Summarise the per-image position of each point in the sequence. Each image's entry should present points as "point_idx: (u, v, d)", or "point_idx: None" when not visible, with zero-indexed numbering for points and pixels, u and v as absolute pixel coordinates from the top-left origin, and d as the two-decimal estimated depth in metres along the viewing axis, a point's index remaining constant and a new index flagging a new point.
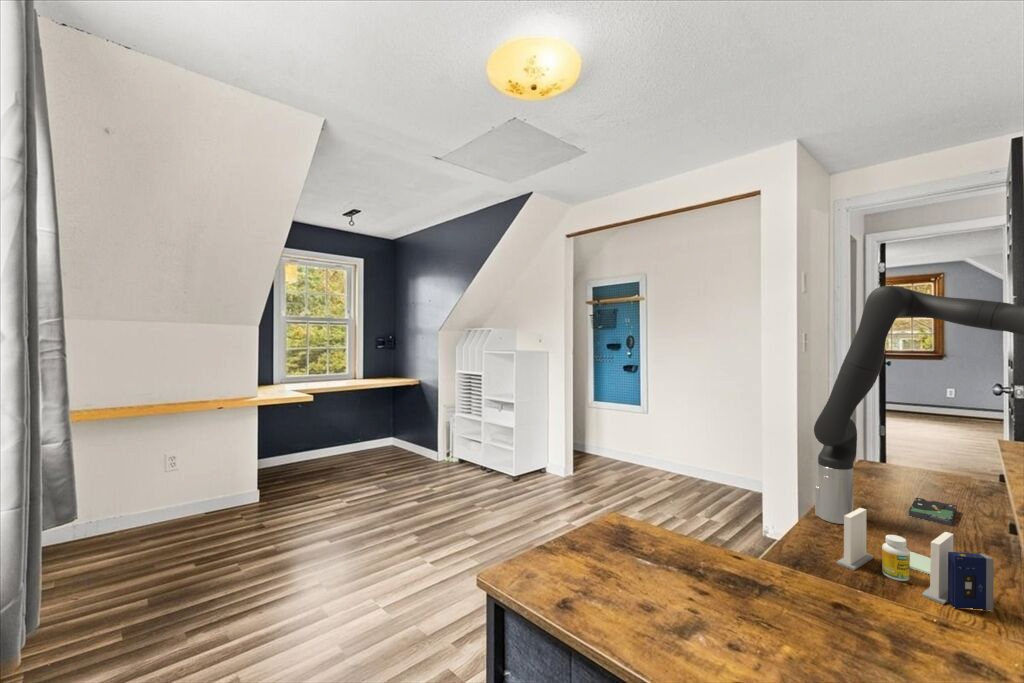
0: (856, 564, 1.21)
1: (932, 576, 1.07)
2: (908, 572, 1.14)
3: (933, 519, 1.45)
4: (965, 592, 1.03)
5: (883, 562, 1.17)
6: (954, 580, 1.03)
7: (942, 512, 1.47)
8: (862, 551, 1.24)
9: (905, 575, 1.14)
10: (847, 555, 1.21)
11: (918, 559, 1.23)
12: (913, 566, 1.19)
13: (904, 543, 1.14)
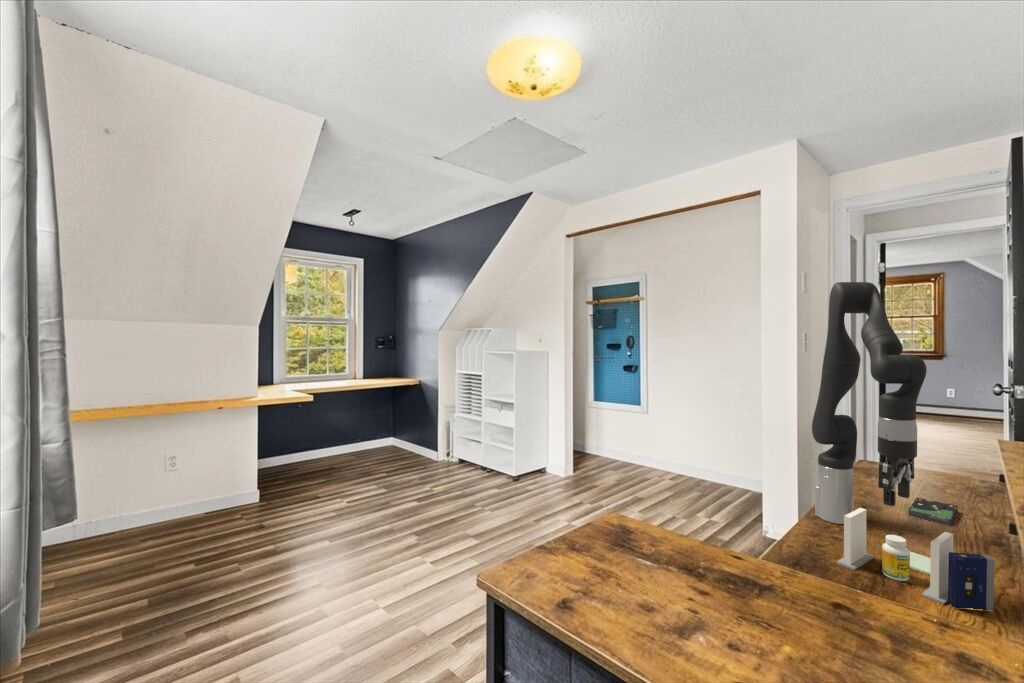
0: (856, 564, 1.21)
1: (932, 576, 1.07)
2: (908, 572, 1.14)
3: (933, 519, 1.45)
4: (965, 592, 1.03)
5: (883, 562, 1.17)
6: (954, 580, 1.03)
7: (942, 512, 1.47)
8: (862, 551, 1.24)
9: (905, 575, 1.14)
10: (847, 555, 1.21)
11: (918, 559, 1.23)
12: (913, 566, 1.19)
13: (904, 543, 1.14)
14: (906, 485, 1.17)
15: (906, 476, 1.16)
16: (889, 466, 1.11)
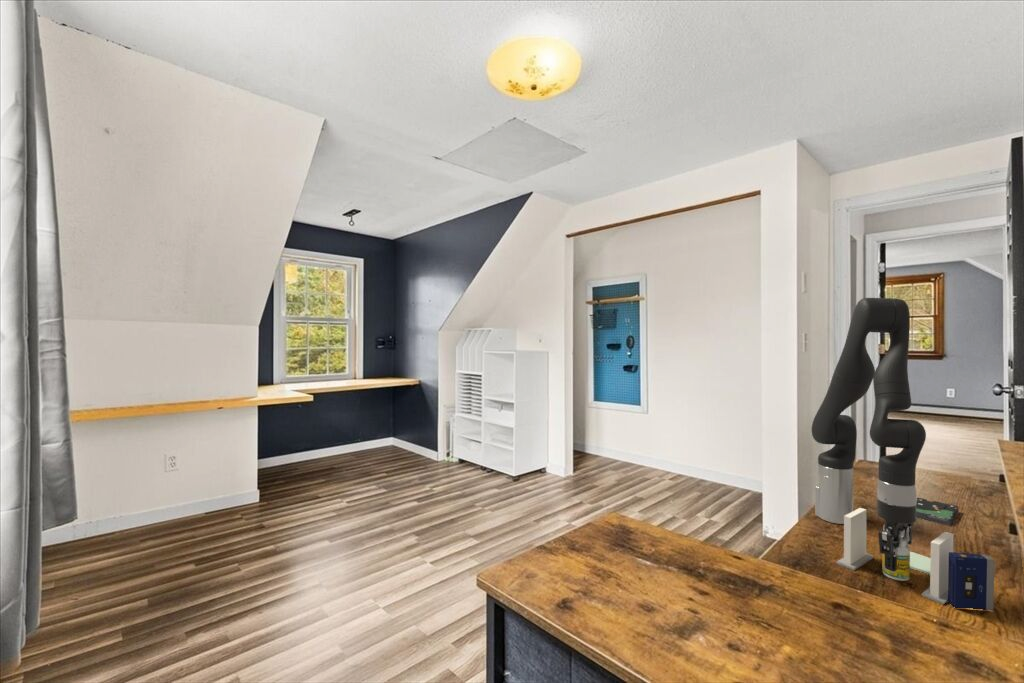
0: (856, 564, 1.21)
1: (932, 576, 1.07)
2: (908, 572, 1.14)
3: (932, 519, 1.45)
4: (965, 592, 1.03)
5: (883, 562, 1.17)
6: (954, 580, 1.03)
7: (941, 512, 1.47)
8: (862, 551, 1.24)
9: (905, 575, 1.14)
10: (847, 555, 1.21)
11: (918, 559, 1.23)
12: (913, 566, 1.19)
13: (904, 543, 1.14)
14: None
15: None
16: (888, 535, 1.12)
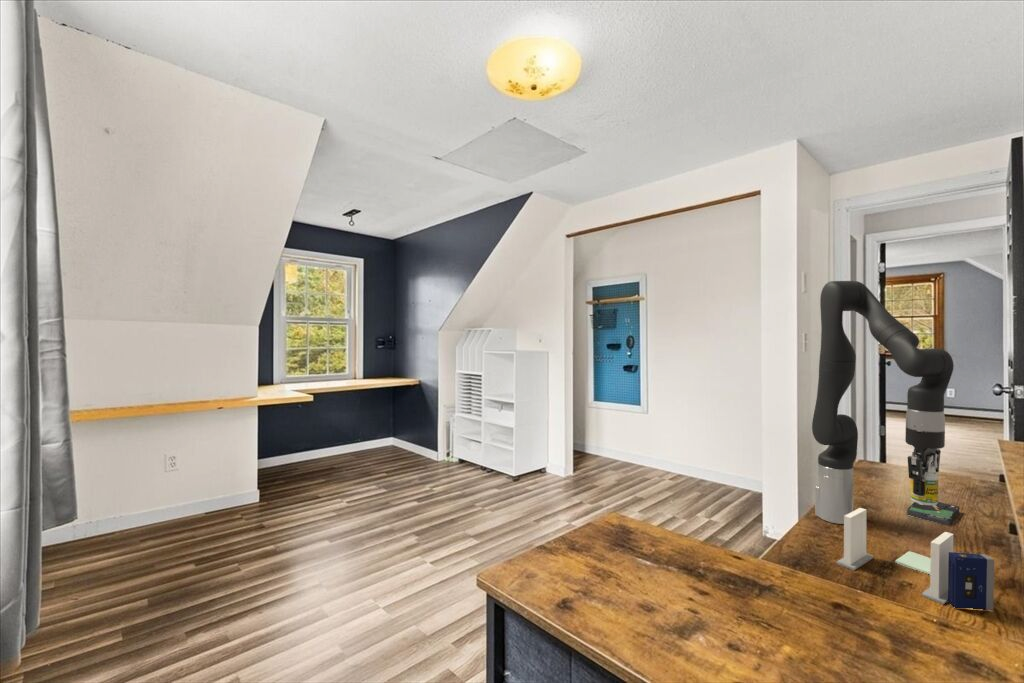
0: (856, 564, 1.21)
1: (932, 576, 1.07)
2: (937, 497, 1.18)
3: (931, 518, 1.45)
4: (965, 592, 1.03)
5: (912, 489, 1.21)
6: (954, 580, 1.03)
7: (941, 512, 1.47)
8: (862, 551, 1.24)
9: (934, 499, 1.17)
10: (847, 555, 1.21)
11: (918, 559, 1.23)
12: (913, 566, 1.19)
13: (933, 469, 1.18)
14: None
15: None
16: (918, 459, 1.15)
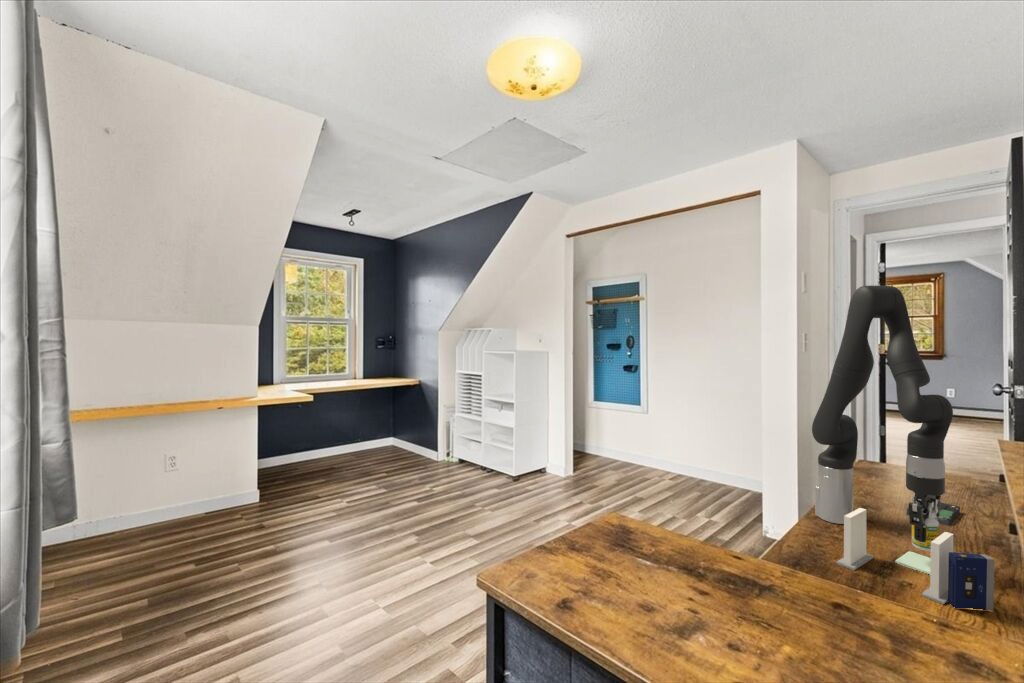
0: (856, 564, 1.21)
1: (932, 576, 1.07)
2: None
3: None
4: (965, 592, 1.03)
5: (913, 534, 1.21)
6: (954, 580, 1.03)
7: (941, 512, 1.47)
8: (862, 551, 1.24)
9: None
10: (847, 555, 1.21)
11: (918, 559, 1.23)
12: (913, 566, 1.19)
13: (934, 515, 1.18)
14: None
15: None
16: (918, 506, 1.16)
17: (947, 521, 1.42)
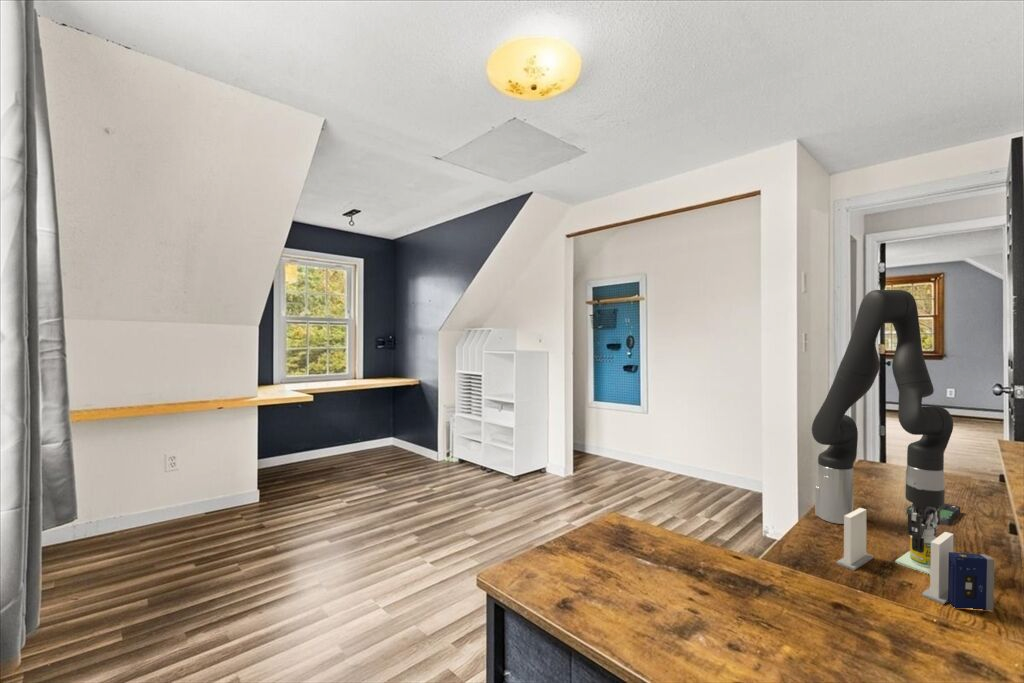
0: (856, 564, 1.21)
1: (932, 576, 1.07)
2: None
3: None
4: (965, 592, 1.03)
5: (911, 550, 1.21)
6: (954, 580, 1.03)
7: (941, 512, 1.47)
8: (862, 551, 1.24)
9: None
10: (847, 555, 1.21)
11: None
12: (913, 566, 1.19)
13: (932, 531, 1.18)
14: None
15: (933, 522, 1.21)
16: (918, 515, 1.16)
17: (947, 521, 1.42)
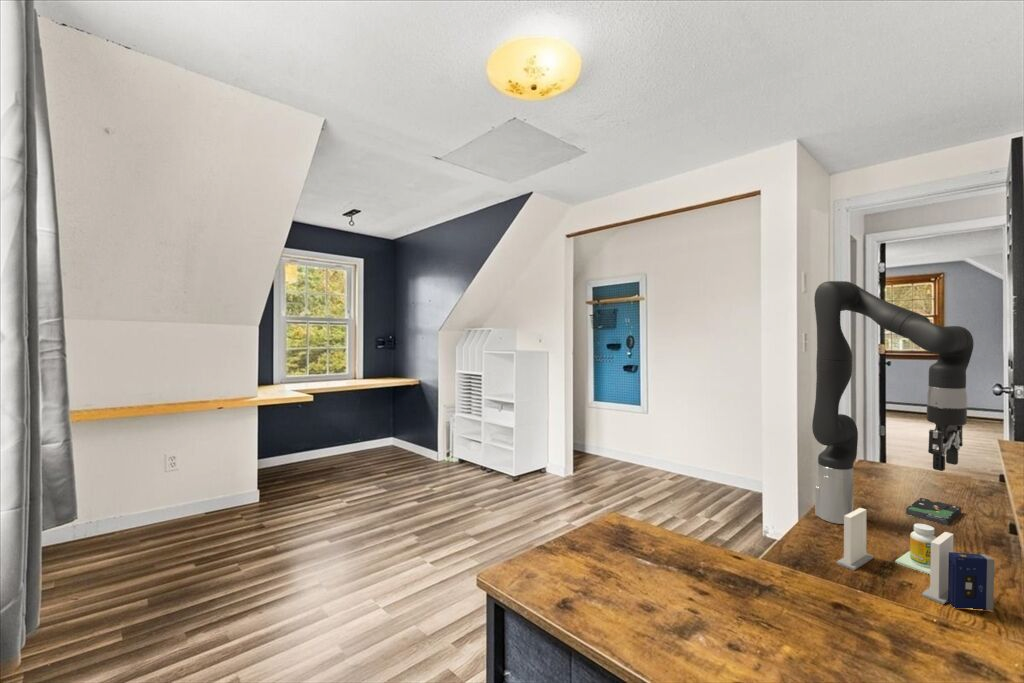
0: (856, 564, 1.21)
1: (932, 576, 1.07)
2: None
3: (929, 518, 1.46)
4: (965, 592, 1.03)
5: (911, 550, 1.21)
6: (954, 580, 1.03)
7: (941, 512, 1.47)
8: (862, 551, 1.24)
9: None
10: (847, 555, 1.21)
11: None
12: (913, 566, 1.19)
13: (932, 531, 1.18)
14: (954, 452, 1.22)
15: (955, 443, 1.21)
16: (939, 432, 1.16)
17: (946, 521, 1.43)
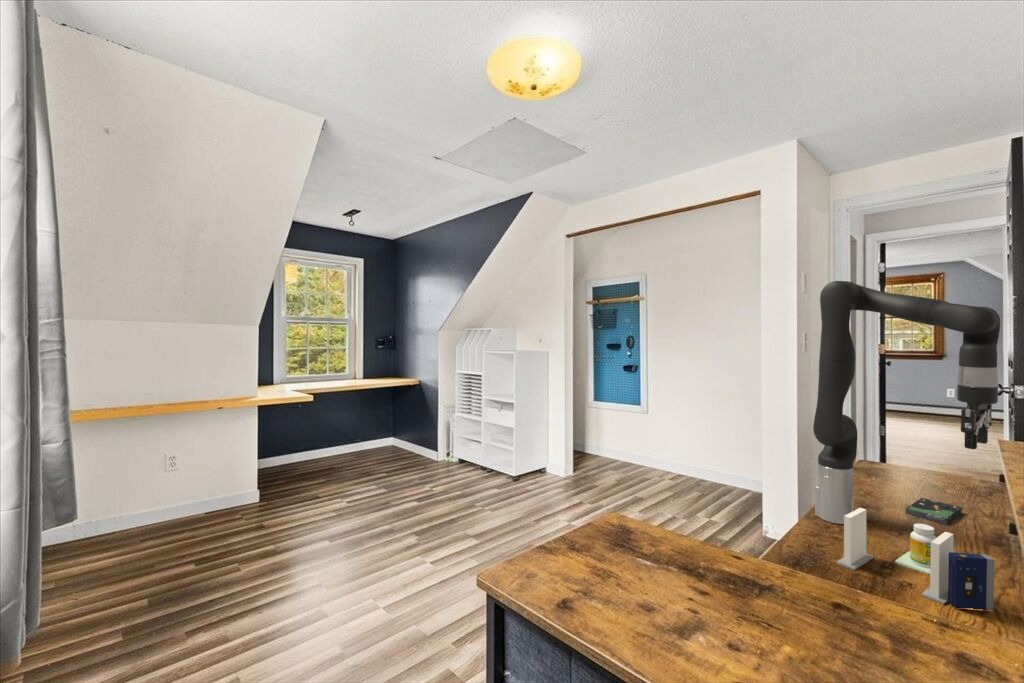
0: (856, 564, 1.21)
1: (932, 576, 1.07)
2: None
3: (929, 518, 1.46)
4: (965, 592, 1.03)
5: (911, 550, 1.21)
6: (954, 580, 1.03)
7: (941, 512, 1.47)
8: (862, 551, 1.24)
9: None
10: (847, 555, 1.21)
11: None
12: (913, 566, 1.19)
13: (932, 531, 1.18)
14: (984, 431, 1.23)
15: (985, 422, 1.22)
16: (972, 411, 1.17)
17: (945, 521, 1.43)
